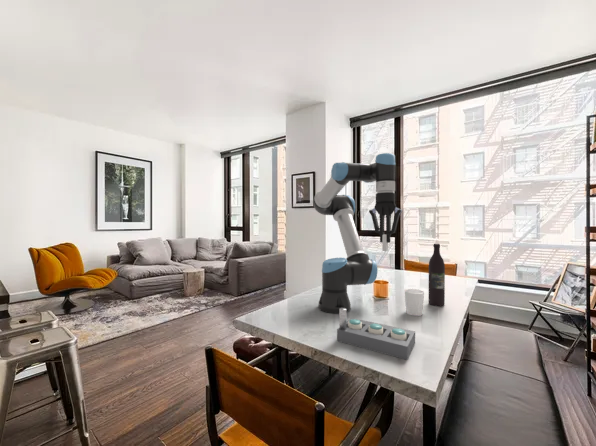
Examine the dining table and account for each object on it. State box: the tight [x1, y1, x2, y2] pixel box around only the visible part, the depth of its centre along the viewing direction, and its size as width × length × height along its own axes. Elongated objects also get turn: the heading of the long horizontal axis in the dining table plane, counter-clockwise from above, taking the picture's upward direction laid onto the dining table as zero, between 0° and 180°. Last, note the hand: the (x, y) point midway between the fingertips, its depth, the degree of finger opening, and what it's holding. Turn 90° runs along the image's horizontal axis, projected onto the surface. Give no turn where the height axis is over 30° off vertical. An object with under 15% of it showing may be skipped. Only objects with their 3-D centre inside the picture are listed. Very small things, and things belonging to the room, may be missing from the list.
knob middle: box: [369, 323, 383, 335], centre depth 91 cm, size 5×5×5 cm
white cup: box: [404, 288, 425, 317], centre depth 119 cm, size 8×8×10 cm
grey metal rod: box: [338, 308, 347, 330], centre depth 92 cm, size 2×2×7 cm
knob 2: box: [391, 327, 406, 341], centre depth 87 cm, size 5×5×5 cm
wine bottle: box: [428, 243, 446, 308], centre depth 131 cm, size 7×7×30 cm
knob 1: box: [347, 318, 362, 330], centre depth 95 cm, size 5×5×5 cm
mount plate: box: [336, 317, 416, 361], centre depth 91 cm, size 23×13×4 cm, turn 57°
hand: (385, 250), depth 108 cm, fingers closed
